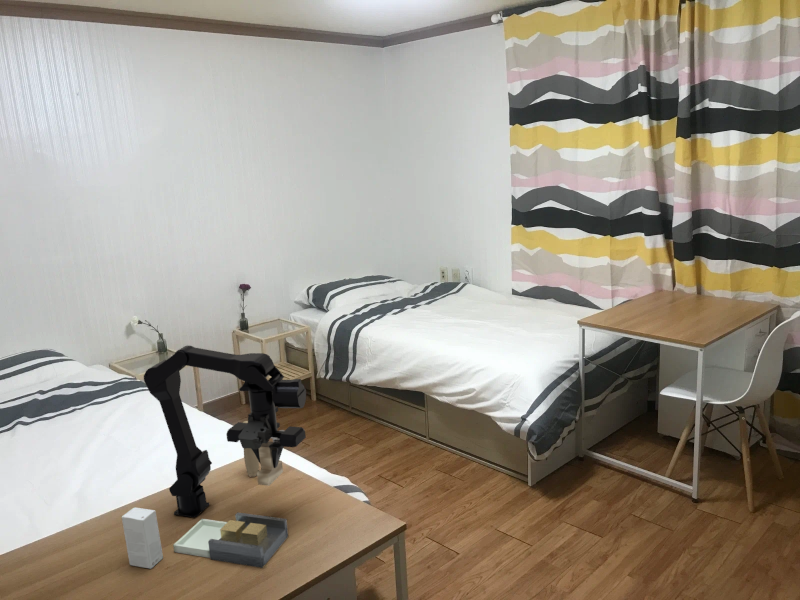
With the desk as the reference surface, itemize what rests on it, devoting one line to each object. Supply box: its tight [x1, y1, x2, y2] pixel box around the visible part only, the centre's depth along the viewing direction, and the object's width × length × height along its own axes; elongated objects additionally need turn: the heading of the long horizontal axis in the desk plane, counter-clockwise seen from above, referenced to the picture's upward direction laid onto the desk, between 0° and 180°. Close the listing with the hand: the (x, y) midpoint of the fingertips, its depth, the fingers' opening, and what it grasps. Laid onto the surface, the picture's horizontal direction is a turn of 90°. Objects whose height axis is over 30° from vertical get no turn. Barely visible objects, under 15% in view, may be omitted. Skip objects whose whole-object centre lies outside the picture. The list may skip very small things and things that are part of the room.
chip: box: [241, 523, 267, 545], centre depth 143 cm, size 4×4×2 cm
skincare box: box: [121, 507, 164, 570], centre depth 140 cm, size 6×4×12 cm
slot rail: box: [208, 512, 289, 569], centre depth 144 cm, size 13×12×4 cm
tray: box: [173, 518, 228, 559], centre depth 148 cm, size 10×11×2 cm
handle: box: [241, 420, 260, 478], centre depth 177 cm, size 5×6×15 cm
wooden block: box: [220, 519, 246, 542], centre depth 145 cm, size 4×4×2 cm
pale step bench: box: [256, 440, 284, 487], centre depth 154 cm, size 3×7×9 cm, turn 162°
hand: (269, 466), depth 155 cm, fingers closed on pale step bench, 3 cm apart
